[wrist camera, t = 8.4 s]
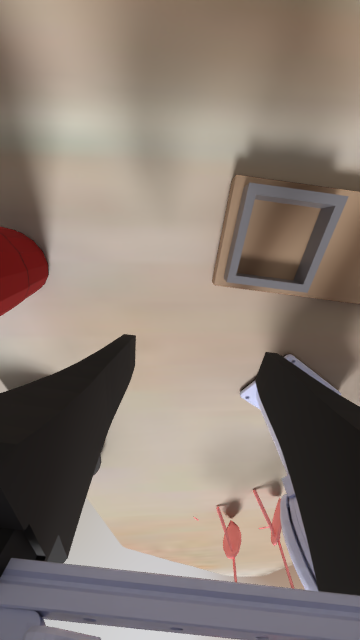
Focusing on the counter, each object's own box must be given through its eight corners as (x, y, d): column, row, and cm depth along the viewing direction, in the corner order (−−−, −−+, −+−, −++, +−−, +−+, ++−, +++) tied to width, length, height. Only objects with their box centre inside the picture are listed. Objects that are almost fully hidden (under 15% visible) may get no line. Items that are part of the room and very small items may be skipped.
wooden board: (515, 219, 15) (549, 218, 13) (443, 311, 18) (464, 317, 17) (231, 180, 14) (236, 174, 13) (212, 281, 18) (214, 285, 16)
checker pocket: (332, 200, 13) (348, 196, 12) (297, 287, 16) (307, 292, 15) (243, 187, 13) (249, 182, 12) (223, 278, 16) (226, 282, 15)
